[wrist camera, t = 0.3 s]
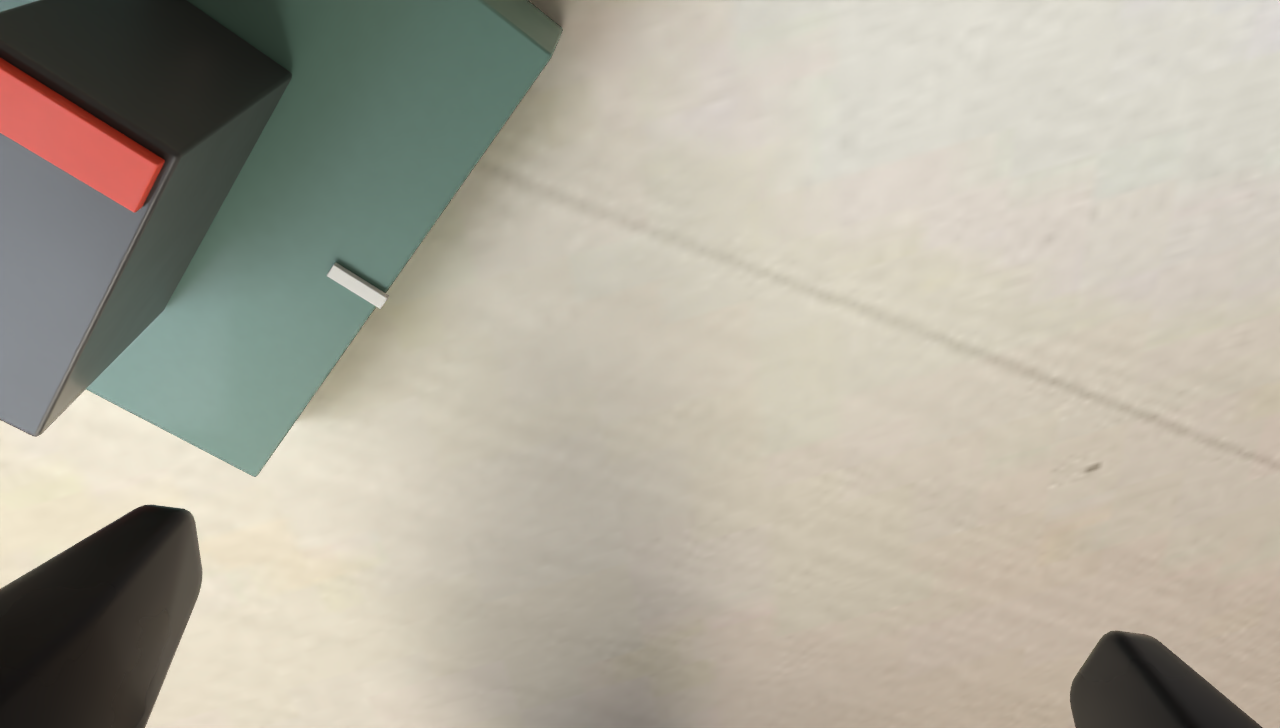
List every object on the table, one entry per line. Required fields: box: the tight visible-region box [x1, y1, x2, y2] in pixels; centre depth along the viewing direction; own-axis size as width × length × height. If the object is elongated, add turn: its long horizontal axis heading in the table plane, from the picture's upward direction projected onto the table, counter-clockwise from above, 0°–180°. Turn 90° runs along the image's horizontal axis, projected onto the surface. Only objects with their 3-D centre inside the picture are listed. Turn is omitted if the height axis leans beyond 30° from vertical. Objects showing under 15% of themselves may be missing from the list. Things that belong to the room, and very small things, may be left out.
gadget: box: [0, 0, 292, 437], centre depth 16 cm, size 7×3×5 cm, turn 142°
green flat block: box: [0, 0, 563, 477], centre depth 20 cm, size 14×11×3 cm
